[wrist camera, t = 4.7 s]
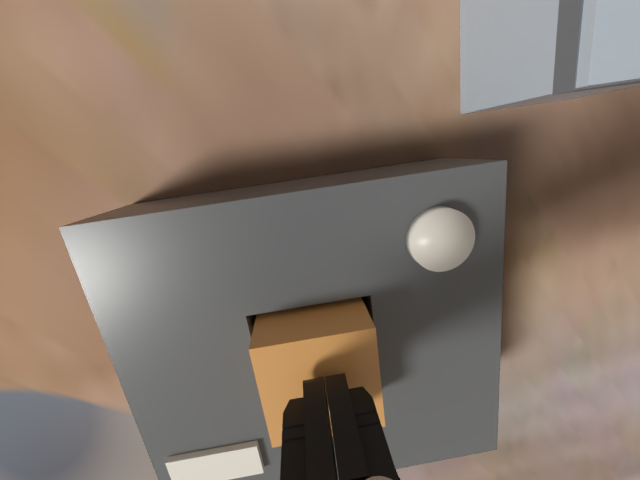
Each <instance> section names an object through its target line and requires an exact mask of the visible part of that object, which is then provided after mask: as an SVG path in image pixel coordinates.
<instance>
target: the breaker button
mask: <svg viewBox="0 0 640 480" xmlns="http://www.w3.org/2000/svg"><path fill="white" fill-rule="evenodd" d="M249 354H250V358H251V362H252V366H253V370H254V374H255V379H256V383H257V387H258V391H259V395H260V399H261V403H262V408H263V412H264V416H265V420H266V424H267V428H268V433H269V437H270V441H271V445H272V448H274V447H279V446H282V431H283V430H282V423H283V412H284V410H285V408H286V406H287V404H288V402H289V400H290V399H295V398H301V397H303V380H308V379H314V378H320V377H323V379H324V385H325V391H326V397H327V403H328V396H327V389H326V382H325V376H330V375H336V374H342V373H345V375H346V380H347V384H348V388H349V389H351V388H356V387H362V386H363V387H364V388H365V389H366V390H367V392H368V393H369V394H370V395H371V396H372V397H373V400H374V403H375V407H376V410H377V413H378V416H379V419H380V422H381V425H382V427H385V417H384V407H383V397H382V387H381V376H380V366H379V356H378V346H377V336H376V327H375V325H374V323H373V321H372V319H371V317H370V315H369V313H368V310H367V308H366V306H365V304H364V302H363V300H362V298H361V297H358V298H352V299H346V300H339V301H333V302H327V303H321V304H315V305H309V306H303V307H297V308H291V309H285V310H279V311H273V312H267V313H261V314H257V315H256V319H255V323H254V328H253V332H252V337H251V341H250V345H249ZM328 409H329V404H328ZM329 415H330V411H329ZM330 422H331V418H330ZM331 428H332V426H331ZM332 436H333V433H332Z"/></svg>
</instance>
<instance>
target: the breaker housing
mask: <svg viewBox="0 0 640 480" xmlns="http://www.w3.org/2000/svg"><path fill="white" fill-rule="evenodd" d="M506 184H507V160H492V159H463V158H438V159H432V160H425V161H418V162H411V163H405V164H398V165H391V166H384V167H378V168H371V169H364V170H358V171H351V172H344V173H337V174H331V175H324V176H317V177H310V178H304V179H297V180H290V181H283V182H277V183H270V184H263V185H256V186H250V187H243V188H236V189H229V190H223V191H216V192H209V193H202V194H196V195H189V196H182V197H176V198H169V199H162V200H155V201H149V202H142V203H135V204H131V205H127V206H124V207H121V208H118V209H115V210H112V211H109V212H105V213H102V214H99V215H96V216H93V217H90V218H87V219H83V220H80V221H77V222H74V223H71V224H68V225H65V226H61V227H59V229H60V232H61V234H62V237H63V239H64V242H65V244H66V247H67V249H68V252H69V254H70V257H71V260H72V262H73V265H74V267H75V270H76V272H77V275H78V277H79V280H80V282H81V285H82V287H83V290H84V292H85V295H86V298H87V300H88V303H89V305H90V308H91V310H92V313H93V315H94V318H95V320H96V323H97V325H98V328H99V330H100V333H101V335H102V338H103V341H104V343H105V346H106V348H107V351H108V353H109V356H110V358H111V361H112V363H113V366H114V368H115V371H116V373H117V376H118V379H119V381H120V384H121V386H122V389H123V391H124V394H125V396H126V399H127V401H128V404H129V406H130V409H131V411H132V414H133V416H134V419H135V422H136V424H137V427H138V429H139V432H140V434H141V437H142V439H143V442H144V444H145V447H146V449H147V452H148V454H149V457H150V459H151V462H152V465H153V467H154V470H155V472H156V475H157V477H158V480H280V468H281V446H279V447H274V448H272V445H271V441H270V437H269V433H268V428H267V424H266V420H265V416H264V412H263V408H262V403H261V399H260V395H259V391H258V387H257V383H256V379H255V374H254V370H253V366H252V362H251V358H250V354H249V345H250V341H251V337H252V332H253V328H254V323H255V319H256V315H257V314H261V313H267V312H273V311H279V310H285V309H291V308H297V307H303V306H309V305H315V304H321V303H327V302H333V301H339V300H346V299H352V298H358V297H361V298H362V300H363V302H364V304H365V306H366V308H367V310H368V313H369V315H370V317H371V319H372V321H373V323H374V325H375V327H376V336H377V346H378V356H379V366H380V376H381V387H382V397H383V407H384V417H385V427H382V428H383V432H384V435H385V438H386V441H387V444H388V447H389V450H390V453H391V456H392V460H393V463H394V466H395V469H398V468H403V467H409V466H414V465H419V464H424V463H430V462H435V461H440V460H445V459H450V458H456V457H461V456H466V455H471V454H477V453H482V452H487V451H492V450H497V436H498V408H499V380H500V352H501V324H502V296H503V268H504V240H505V212H506ZM333 443H334V441H333ZM334 451H335V448H334ZM335 458H336V455H335ZM336 465H337V463H336ZM337 473H338V470H337ZM338 480H339V477H338Z"/></svg>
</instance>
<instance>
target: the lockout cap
mask: <svg viewBox="0 0 640 480" xmlns="http://www.w3.org/2000/svg"><path fill="white" fill-rule="evenodd" d="M460 73H461V114H467V113H474V112H481V111H488V110H495V109H502V108H509V107H516V106H524V105H531V104H538V103H545V102H552V101H559V100H566V99H573V98H578V97H584V96H589V95H594V94H599V93H604V92H610V91H615V90H620V89H625V88H630V87H636V86H640V0H460Z"/></svg>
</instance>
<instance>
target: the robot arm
mask: <svg viewBox="0 0 640 480" xmlns="http://www.w3.org/2000/svg"><path fill="white" fill-rule="evenodd" d="M325 382H326V389H327V396H328V403H327V397H326V391H325V385H324V379H323V377H320V378H314V379H308V380H303V397H301V398H295V399H290V400H289V402H288V404H287V406H286V408H285V410H284V412H283V423H282V430H283V431H282V446H281V468H280V480H338V477H339V480H400V478H399V477H398V474H397V472H396V469H395V466H394V463H393V460H392V456H391V453H390V450H389V447H388V444H387V441H386V438H385V435H384V432H383V428H382V425H381V422H380V419H379V416H378V413H377V410H376V407H375V403H374V400H373V397H372V396H371V395H370V394H369V393H368V392H367V390H366V389H365V388H364V387H363V386H362V387H356V388H351V389H349V388H348V384H347V380H346V375H345V373H342V374H336V375H330V376H325ZM328 404H329V409H328ZM329 411H330V415H329ZM330 418H331V422H330ZM331 426H332V428H331ZM332 433H333V436H332ZM333 441H334V443H333ZM334 448H335V451H334ZM335 455H336V458H335ZM336 463H337V465H336ZM337 470H338V473H337Z"/></svg>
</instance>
